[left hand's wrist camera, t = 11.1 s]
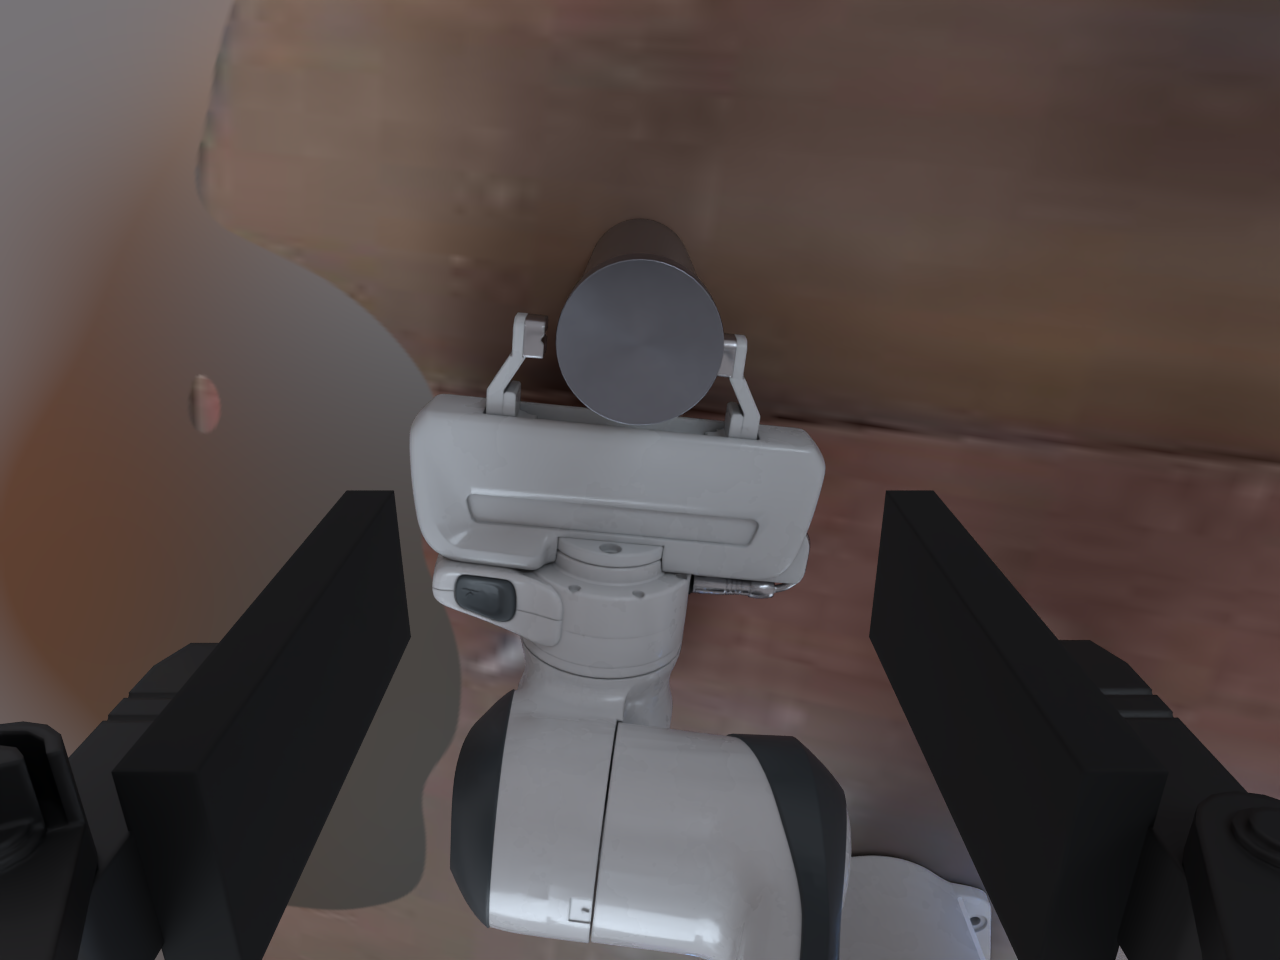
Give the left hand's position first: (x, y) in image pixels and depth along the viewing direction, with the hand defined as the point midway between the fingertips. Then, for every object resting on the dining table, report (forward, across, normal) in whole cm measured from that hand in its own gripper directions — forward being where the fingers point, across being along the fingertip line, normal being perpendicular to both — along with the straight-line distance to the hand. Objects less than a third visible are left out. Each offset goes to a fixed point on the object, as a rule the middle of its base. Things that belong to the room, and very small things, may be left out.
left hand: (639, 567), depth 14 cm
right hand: (+28, 0, +2) cm, 28 cm away
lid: (+17, 0, 0) cm, 17 cm away
